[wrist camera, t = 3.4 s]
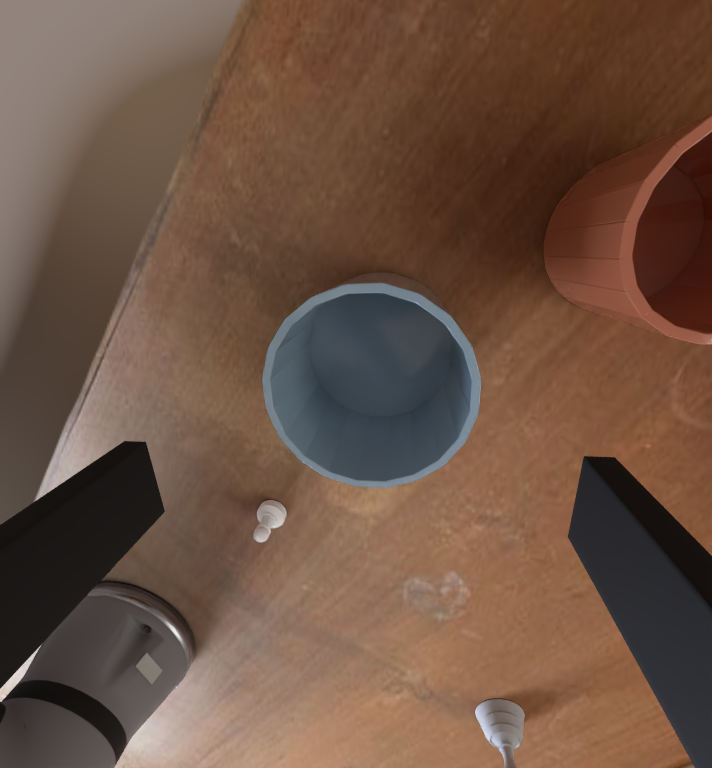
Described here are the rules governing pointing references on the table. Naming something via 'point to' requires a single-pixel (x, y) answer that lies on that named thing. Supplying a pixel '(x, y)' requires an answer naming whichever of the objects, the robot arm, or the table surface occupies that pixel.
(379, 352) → the light blue round container
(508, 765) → the chalice
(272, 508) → the chess pawn
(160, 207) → the table surface
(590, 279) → the mug
